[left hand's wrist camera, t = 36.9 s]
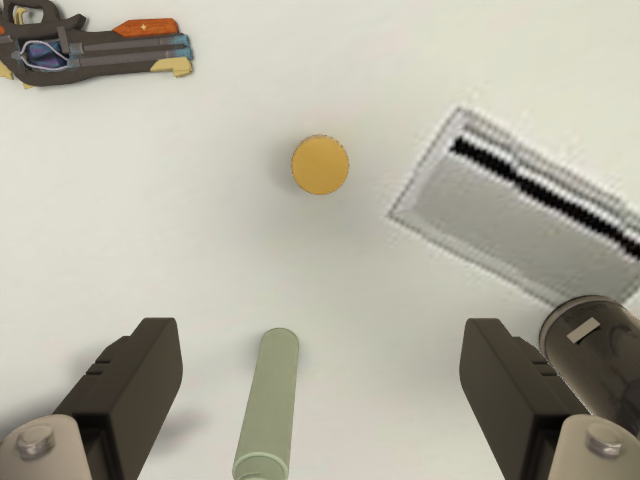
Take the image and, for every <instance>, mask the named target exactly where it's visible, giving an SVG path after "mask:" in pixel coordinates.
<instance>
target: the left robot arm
mask: <svg viewBox="0 0 640 480" xmlns="http://www.w3.org/2000/svg"><path fill="white" fill-rule="evenodd" d="M540 348H541V351H542V353H543V355H544V357H545V358H546V359H547V361H548V362H549V363H550V364H551V365H552V366H553V367H554V368H555V369H556V370H557V371H558V372H559V373H560V375H561V376H562V377H563V378H564V380H565V381H566V382H567V383H568V384H569V386H570V387H571V388H572V389H573V390H574V392H575V393H576V394H577V395H578V396H579V398H580V399H581V400H582V401H583V402H584V404H585V405H586V406H587V407H588V408H589V410H590V411H591V412H592V413H593V414H594V416H593V415H591V414H590V413H589V412H588V410H587V409H586V408H585V407H584V406H583V404H582V403H581V402H580V401H579V400H578V398H577V397H576V396H575V395H574V393H573V392H572V391H571V390H570V389H569V387H568V386H567V385H566V384H565V383H564V381H563V380H562V379H561V378H560V377H559V376H557V373H556V372H555V370H554V369H553V368H552V367H551V366H550V365H548V364H547V361H546V360H545V358H544V357H543V356H542V355H541V353H540V352H539V351H538V350H537V349H536V348H535V347H533V346H532V345H530V344H529V343H528V342H526V341H525V340H523V339H522V338H520V337H512V336H511V334H510V333H509V332H508V331H507V329H506V328H505V327H504V325H503V324H502V323H501V321H500V320H499V319H497V318H469V319H468V320H467V322H466V325H465V331H464V338H463V345H462V352H461V359H460V367H459V373H460V381H461V385H462V388H463V391H464V393H465V395H466V397H467V399H468V401H469V404H470V406H471V408H472V410H473V412H474V414H475V416H476V418H477V421H478V423H479V425H480V427H481V429H482V431H483V433H484V435H485V437H486V440H487V442H488V444H489V446H490V448H491V450H492V452H493V454H494V457H495V459H496V461H497V463H498V465H499V467H500V469H501V471H502V474H503V476H504V478H505V480H640V320H639V319H637V318H636V317H635V316H633V315H632V314H631V313H629V312H628V311H627V310H626V309H625V308H624V307H623V306H621V305H620V304H619V303H617V302H616V301H614V300H612V299H609V298H606V297H602V296H586V297H581V298H577V299H574V300H572V301H570V302H568V303H566V304H564V305H562V306H561V307H559V308H558V309H557V310H556V311H555V312H554V313H553V314H552V315H551V316H550V317H549V318H548V319H547V321H546V322H545V324H544V326H543V328H542V331H541V335H540ZM182 373H183V365H182V357H181V350H180V343H179V336H178V329H177V323H176V321H175V319H174V318H144V319H143V320H142V321H141V323H140V324H139V325H138V327H137V328H136V329H135V330H134V332H133V333H132V334H131V336H123V337H121V338H120V339H118V340H117V341H115V342H114V343H112V344H111V345H109V346H108V347H106V349H105V350H104V351H103V352H102V353H101V355H100V356H99V357H98V358H97V360H96V361H95V364H92V366H91V367H90V368H89V369H88V371H87V372H86V375H83V377H82V378H81V379H80V380H79V382H78V383H77V384H76V385H75V386H74V388H73V389H72V390H71V391H70V393H69V394H68V395H67V396H66V397H65V399H64V400H63V401H62V402H61V404H60V405H59V406H58V407H57V409H56V410H55V411H54V412H53V413H52V415H47V416H43V417H39V418H36V419H34V420H31V421H29V422H27V423H25V424H23V425H21V426H19V427H18V428H16V429H15V430H13V431H12V432H10V433H9V434H8V435H7V436H6V437H5V438H3V439H2V440H1V442H0V480H137V478H138V476H139V474H140V472H141V470H142V468H143V465H144V463H145V461H146V459H147V457H148V455H149V453H150V450H151V448H152V446H153V444H154V442H155V440H156V438H157V435H158V433H159V431H160V429H161V427H162V425H163V422H164V420H165V418H166V416H167V414H168V412H169V410H170V407H171V405H172V403H173V401H174V399H175V397H176V395H177V392H178V390H179V388H180V385H181V381H182Z"/></svg>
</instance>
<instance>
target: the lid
mask: <svg viewBox="0 0 640 480" xmlns="http://www.w3.org/2000/svg"><path fill="white" fill-rule="evenodd" d="M348 166H349V164H348V157H347V156H346V151H345V150H344V149H343V146H342V145H340V144H339V143H338V141H336V140H334V139H333V137H328V136H327V135H325V136H323V135H317V136H314V135H313V137H310V138H307V139H306V140H304V141H302V143H301V144H300V145H298V147H297V150H296V151H295V152H294V157H293V158H292V166H291V167H292V174H293V176H294V179H295V180H296V182H297V183H298V185H299V186H300V187H301V188H302V189H304V190H305V191H307V192H309V193H312V194H316V195H324V194H328V193H331V192H333V191H335V190H337V189H338V188H339V187H340V186H341V185H342V184H343V182H344V181H345V179H346V177H347V174H348Z"/></svg>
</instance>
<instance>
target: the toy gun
mask: <svg viewBox="0 0 640 480" xmlns="http://www.w3.org/2000/svg"><path fill="white" fill-rule="evenodd" d="M3 2H4V8H3V13H2V14H0V77H6V78H8V79H11V80H14V78H13V76H12V74H13V73H14V74H15V76H16V77H17V78H18V79H19V80H21V81H22V82H23V85H24V88H25V89H28V88H32V87H35V86H37V87H38V86H51V85H62V84H70V83H75V82H78V81H82V80H85V79H88V78H91V77H95V76H104V75H115V74H126V73H137V72H149V71H152V72H155V71H169V70H173V73H174V77H175V76H176V78H177V77H180V76H184V75H188V74H191V72H190V71H192V66H191V63H190V61H189V60H192V51H191V48H190V47H188V46H189V39H188V36H187V35H184V34H183V33H179V32H178V26H177V23H176V22H175V21H174V20H173V19H172V18H163V19H140V20H128V21H126V22H125V23H123V24H121V25H119V26H118V27H116V28H114V29H113V30H112V31H103V32H84V31H80V30H81V28H82V27H83V25H84V23H85V21H86V17H84V16H82V15H81V14H77V15H75V16H73V17H71V18H68V19H65V20H60V16H59V12H58V9H57V8H56V6H55V5H54V4H53V3H52V2H51V1H49V0H3ZM15 5H19V6H24V7H29V8H36V9H38V8H43V12H44V16H43V19H42V21H41V23H36V24H23V19H22V14H23V13H24V12H27V11H28V10H26V9H24V8H22V7H18V9H17V11H16V13H15V19H14V20H13V9H14V6H15ZM18 15H19V23H20V25H18ZM14 21H15V24H14ZM57 37H59V39H60V41H56V42H49V43H46V42H43V41H36V40H44V39H52V38H57ZM25 41H28V42H26V43H25ZM29 43H41V44H34V45H29V50H28V51H27V47H26V46H27V45H28V44H29ZM31 64H33V65H31ZM32 67H34V68H40V69H41V70H43V71H45V72H47V73H41V72H34V71H33V70H32ZM65 69H66V70H65ZM48 71H50V72H48Z"/></svg>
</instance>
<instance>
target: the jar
mask: <svg viewBox="0 0 640 480" xmlns="http://www.w3.org/2000/svg"><path fill="white" fill-rule="evenodd" d="M298 351H299V341H298V339H297V337H296V335H295V334H294V333H292V332H291V331H289V330H287V329H283V328H276V329H272V330H270V331H268V332H267V333H266V334H265V335H264V336H263V338H262V342H261V346H260V350H259V355H258V359H257V364H256V368H255V372H254V377H253V381H252V385H251V390H250V394H249V398H248V403H247V407H246V412H245V416H244V420H243V425H242V429H241V433H240V438H239V442H238V447H237V451H236V455H235V460H234V464H233V468H232V474H233V478H234V480H287V479H288V474H289V461H290V449H291V437H292V424H293V412H294V400H295V388H296V375H297V363H298Z"/></svg>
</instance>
